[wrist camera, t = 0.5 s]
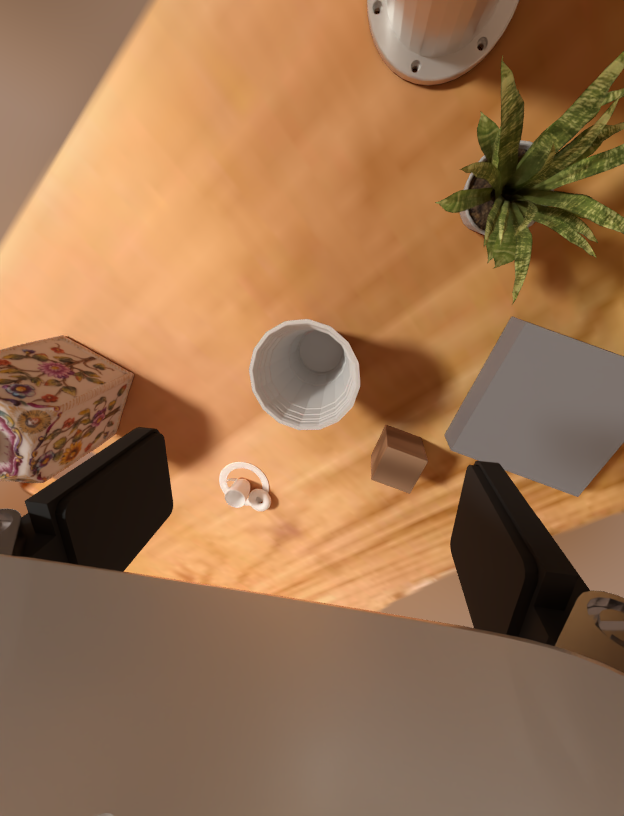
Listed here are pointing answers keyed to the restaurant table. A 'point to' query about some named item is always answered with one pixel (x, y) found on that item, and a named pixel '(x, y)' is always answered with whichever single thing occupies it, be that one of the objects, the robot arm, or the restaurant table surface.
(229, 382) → the restaurant table surface
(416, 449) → the walnut block
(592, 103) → the house plant
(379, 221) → the restaurant table surface
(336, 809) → the robot arm
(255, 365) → the plastic cup
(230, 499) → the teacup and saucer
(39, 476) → the decorative jar
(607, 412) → the grey square slab
